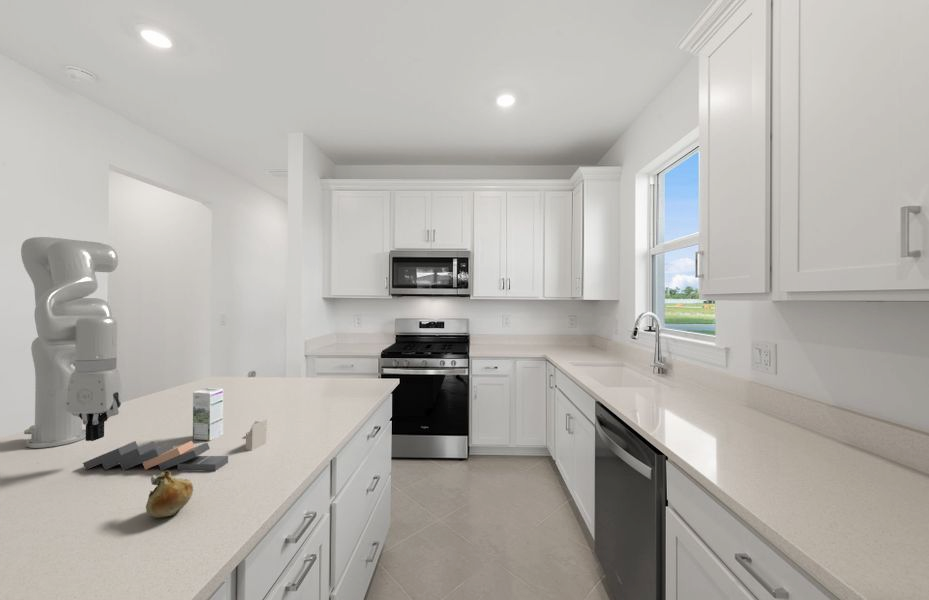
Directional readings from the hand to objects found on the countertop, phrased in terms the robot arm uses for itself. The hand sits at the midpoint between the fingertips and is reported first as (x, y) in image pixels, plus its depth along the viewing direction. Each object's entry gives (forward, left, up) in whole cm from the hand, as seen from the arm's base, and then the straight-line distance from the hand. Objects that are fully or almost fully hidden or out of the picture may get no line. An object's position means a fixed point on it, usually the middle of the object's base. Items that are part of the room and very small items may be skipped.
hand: (94, 438), depth 95 cm
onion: (+35, -21, -7) cm, 41 cm away
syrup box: (+15, +20, -7) cm, 26 cm away
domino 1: (0, 0, -6) cm, 6 cm away
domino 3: (+9, 0, -6) cm, 11 cm away
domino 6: (+23, 0, -6) cm, 23 cm away
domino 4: (+14, 0, -6) cm, 15 cm away
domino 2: (+5, 0, -6) cm, 7 cm away
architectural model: (+33, +13, -7) cm, 37 cm away
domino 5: (+18, 0, -6) cm, 19 cm away
